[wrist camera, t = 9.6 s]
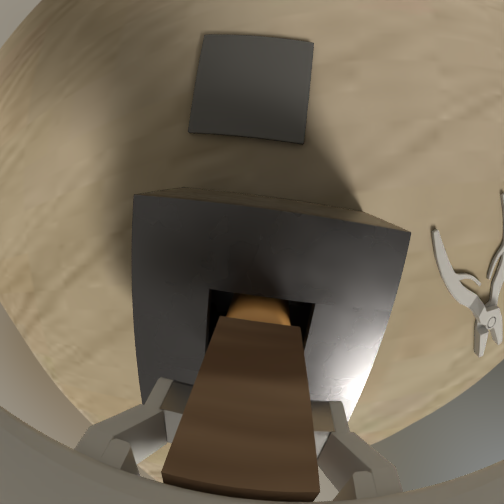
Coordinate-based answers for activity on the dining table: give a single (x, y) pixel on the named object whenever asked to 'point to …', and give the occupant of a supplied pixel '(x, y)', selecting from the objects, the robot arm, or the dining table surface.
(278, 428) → the wood grain block
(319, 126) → the dining table surface
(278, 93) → the pad
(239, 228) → the box
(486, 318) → the pliers
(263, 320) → the egg
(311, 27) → the dining table surface
